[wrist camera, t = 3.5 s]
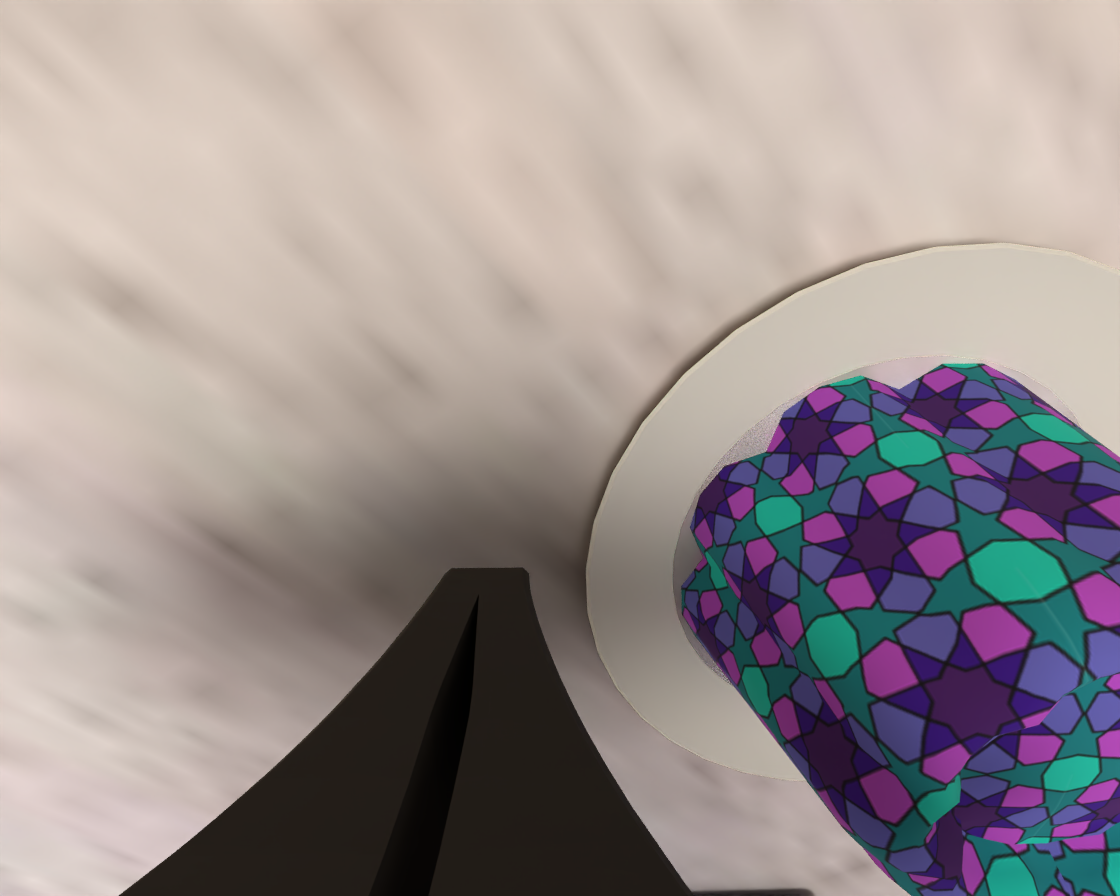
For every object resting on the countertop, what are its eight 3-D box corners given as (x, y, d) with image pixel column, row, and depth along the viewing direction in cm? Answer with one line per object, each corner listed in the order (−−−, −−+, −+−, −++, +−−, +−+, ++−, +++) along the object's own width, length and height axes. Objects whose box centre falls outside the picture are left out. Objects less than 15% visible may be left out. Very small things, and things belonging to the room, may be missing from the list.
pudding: (613, 779, 14) (652, 1088, 9) (540, 299, 9) (534, 389, 4) (1094, 721, 13) (1415, 1010, 8) (1283, 188, 8) (2265, 138, 4)
